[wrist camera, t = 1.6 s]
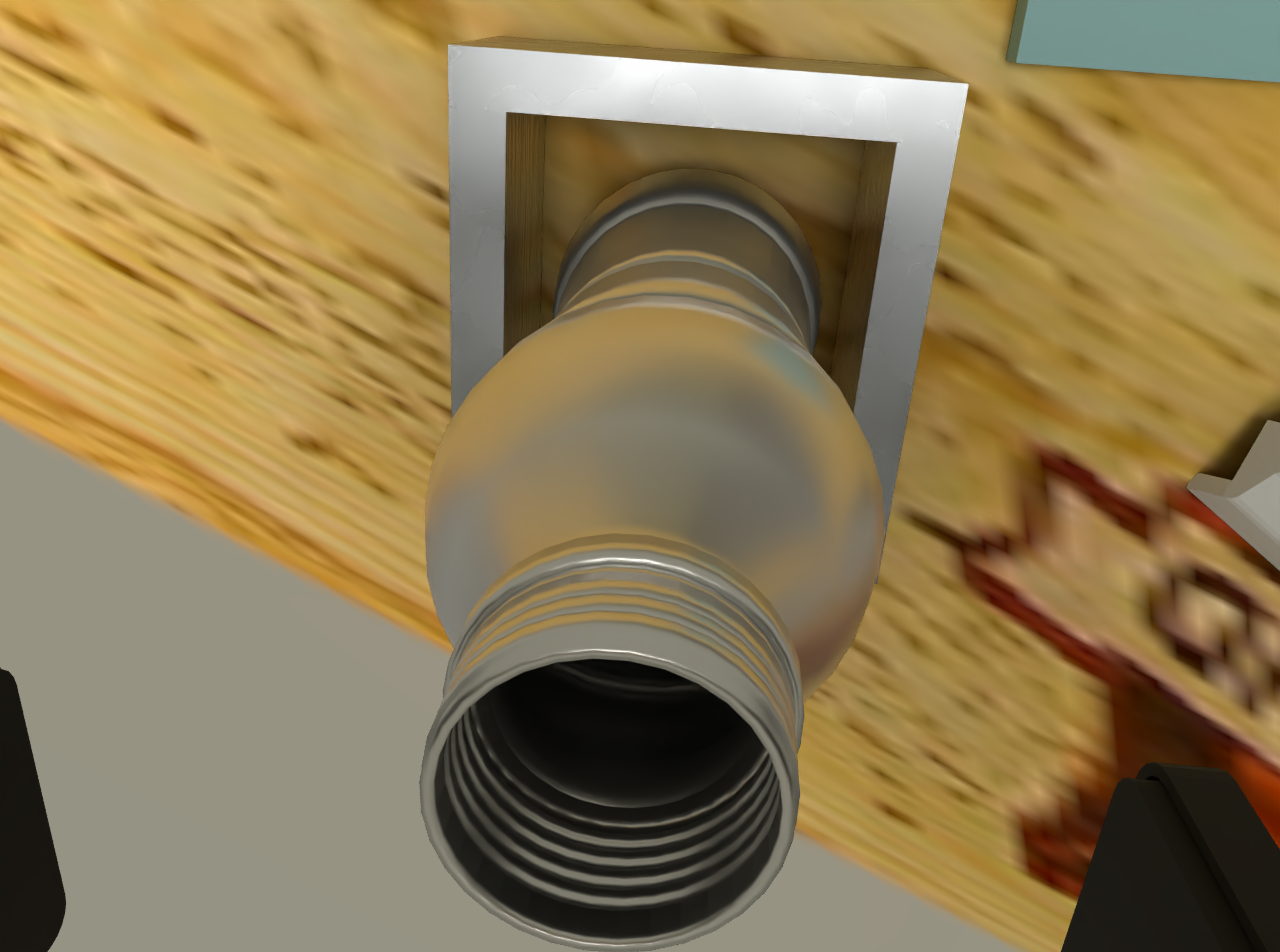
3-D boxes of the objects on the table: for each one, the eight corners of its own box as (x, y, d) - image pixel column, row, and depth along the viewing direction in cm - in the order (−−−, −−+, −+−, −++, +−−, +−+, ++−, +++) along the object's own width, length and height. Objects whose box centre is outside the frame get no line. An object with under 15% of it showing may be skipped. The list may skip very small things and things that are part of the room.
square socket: (855, 495, 30) (876, 583, 26) (495, 461, 31) (452, 542, 26) (927, 68, 25) (968, 83, 21) (498, 36, 26) (448, 44, 21)
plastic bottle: (539, 357, 29) (214, 951, 11) (615, 113, 26) (345, 373, 8) (758, 433, 30) (791, 1129, 11) (855, 202, 27) (1106, 635, 9)
